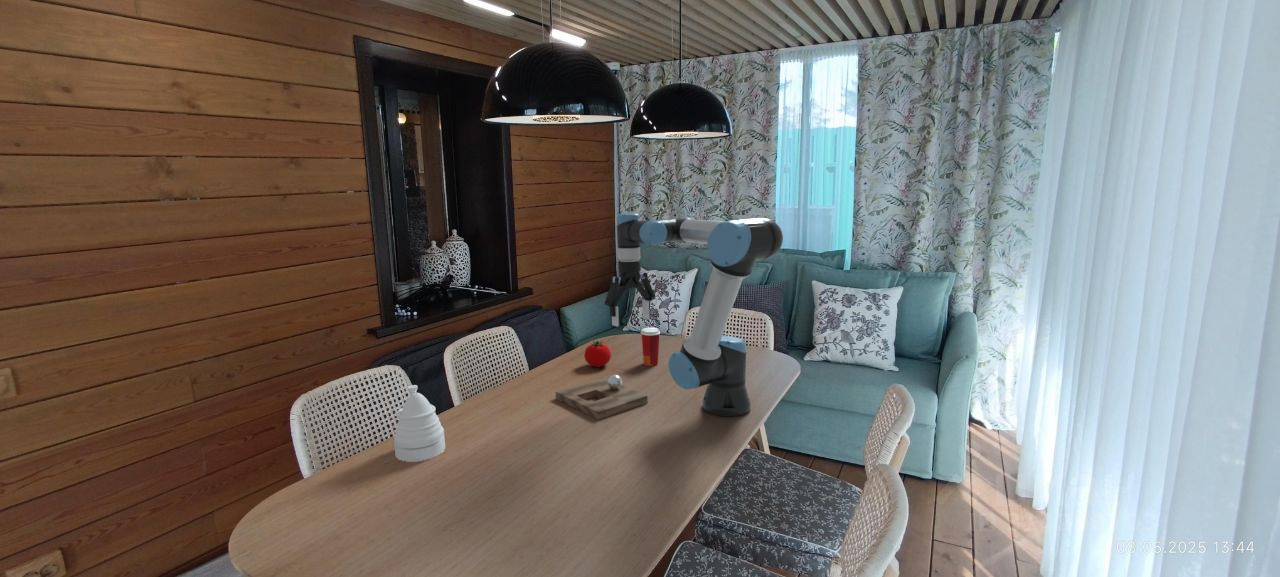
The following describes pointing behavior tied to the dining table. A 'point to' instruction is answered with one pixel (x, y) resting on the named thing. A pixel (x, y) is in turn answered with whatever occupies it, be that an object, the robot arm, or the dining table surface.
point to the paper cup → (650, 345)
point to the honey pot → (418, 430)
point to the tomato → (597, 354)
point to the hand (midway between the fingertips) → (631, 322)
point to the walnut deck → (601, 398)
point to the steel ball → (614, 382)
